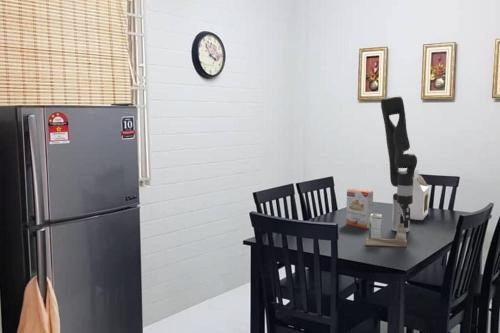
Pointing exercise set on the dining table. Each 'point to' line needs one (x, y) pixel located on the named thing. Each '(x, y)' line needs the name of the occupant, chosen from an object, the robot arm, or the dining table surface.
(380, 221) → the syrup box
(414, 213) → the gable box
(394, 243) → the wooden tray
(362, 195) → the cracker box
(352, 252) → the dining table surface
